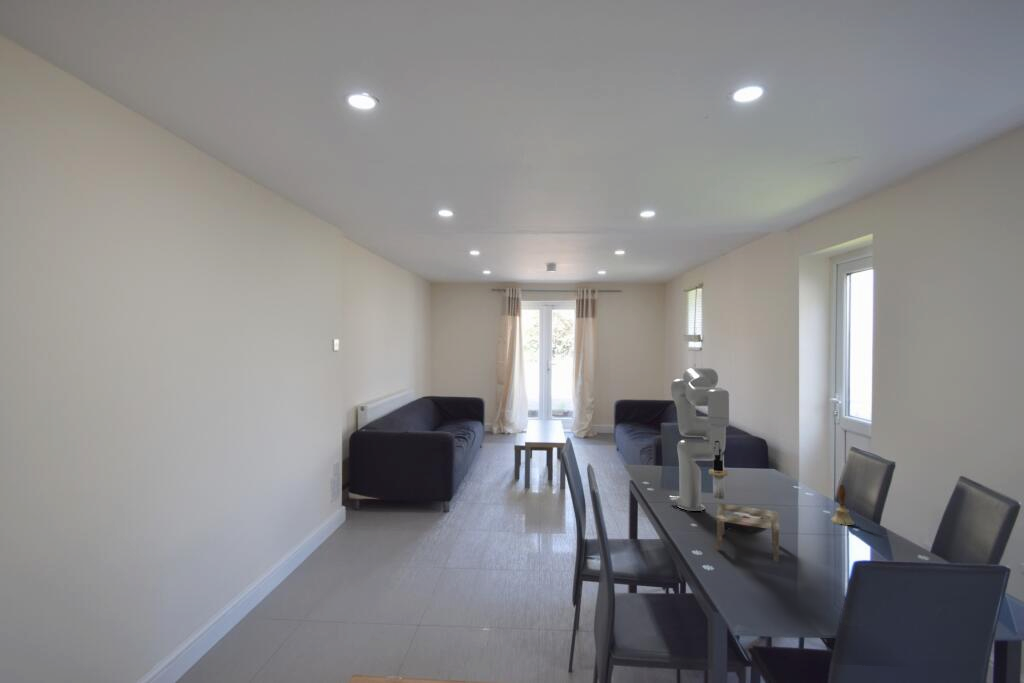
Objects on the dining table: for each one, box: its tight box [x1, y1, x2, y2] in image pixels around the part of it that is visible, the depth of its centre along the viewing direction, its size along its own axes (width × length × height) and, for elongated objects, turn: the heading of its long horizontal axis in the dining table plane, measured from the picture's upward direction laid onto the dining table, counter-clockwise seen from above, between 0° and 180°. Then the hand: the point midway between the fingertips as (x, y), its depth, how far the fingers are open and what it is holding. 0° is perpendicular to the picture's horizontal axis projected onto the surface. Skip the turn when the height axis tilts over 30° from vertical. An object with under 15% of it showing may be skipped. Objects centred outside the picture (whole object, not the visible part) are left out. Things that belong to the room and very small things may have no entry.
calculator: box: [724, 512, 764, 535], centre depth 193 cm, size 11×4×15 cm
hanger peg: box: [708, 454, 730, 500], centre depth 177 cm, size 7×7×16 cm
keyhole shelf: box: [715, 502, 781, 563], centre depth 172 cm, size 20×18×12 cm
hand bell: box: [830, 483, 855, 526], centre depth 198 cm, size 8×8×16 cm
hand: (718, 469), depth 178 cm, fingers closed on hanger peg, 3 cm apart
